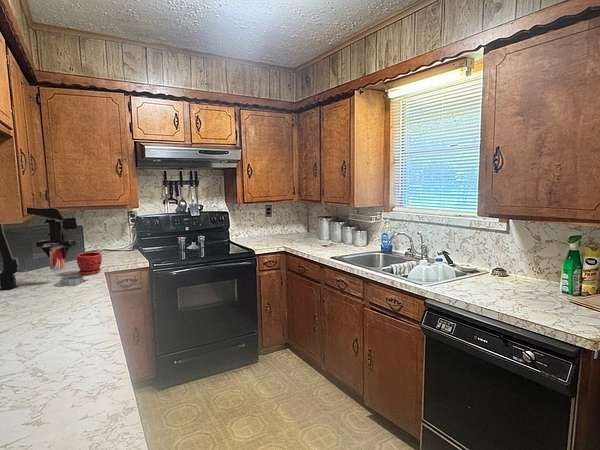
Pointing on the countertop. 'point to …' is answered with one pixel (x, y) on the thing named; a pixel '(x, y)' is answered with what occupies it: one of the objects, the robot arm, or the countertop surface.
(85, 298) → the countertop surface
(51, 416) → the countertop surface
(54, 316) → the countertop surface
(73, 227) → the robot arm
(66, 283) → the duct collar
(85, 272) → the plant pot
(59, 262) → the soda can
